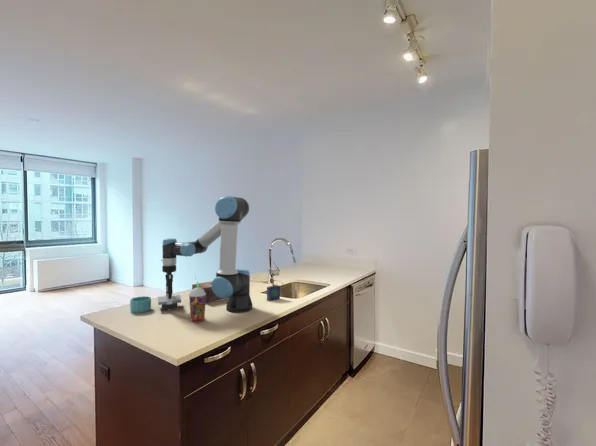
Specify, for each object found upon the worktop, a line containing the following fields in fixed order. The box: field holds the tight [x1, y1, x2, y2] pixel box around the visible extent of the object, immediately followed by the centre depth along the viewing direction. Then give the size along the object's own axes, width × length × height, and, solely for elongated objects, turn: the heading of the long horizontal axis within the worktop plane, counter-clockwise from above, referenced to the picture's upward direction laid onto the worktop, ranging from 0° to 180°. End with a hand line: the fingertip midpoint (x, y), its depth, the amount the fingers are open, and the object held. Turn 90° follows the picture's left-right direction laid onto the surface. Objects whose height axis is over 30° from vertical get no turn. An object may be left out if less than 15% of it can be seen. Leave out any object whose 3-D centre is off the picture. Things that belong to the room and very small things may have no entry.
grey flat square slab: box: [157, 294, 182, 306], centre depth 181 cm, size 12×12×2 cm
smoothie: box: [188, 281, 206, 323], centre depth 159 cm, size 8×8×20 cm
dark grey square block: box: [161, 303, 178, 312], centre depth 181 cm, size 8×8×4 cm
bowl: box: [129, 296, 152, 314], centre depth 176 cm, size 10×10×6 cm
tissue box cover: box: [191, 280, 229, 304], centre depth 204 cm, size 26×14×10 cm, turn 138°
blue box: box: [266, 282, 281, 302], centre depth 200 cm, size 9×3×11 cm, turn 121°
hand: (168, 301), depth 181 cm, fingers open, 13 cm apart
